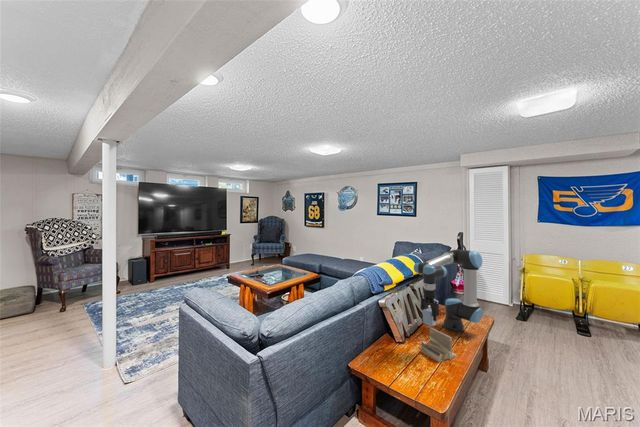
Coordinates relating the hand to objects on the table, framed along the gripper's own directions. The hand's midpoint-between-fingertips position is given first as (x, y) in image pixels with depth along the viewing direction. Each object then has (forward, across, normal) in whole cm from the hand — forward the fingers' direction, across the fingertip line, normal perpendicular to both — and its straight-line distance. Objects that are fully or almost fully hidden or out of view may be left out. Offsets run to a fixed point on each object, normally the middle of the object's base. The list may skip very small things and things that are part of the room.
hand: (429, 323), depth 172 cm
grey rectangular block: (0, 0, 0) cm, 0 cm away
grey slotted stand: (+21, +3, +5) cm, 21 cm away
